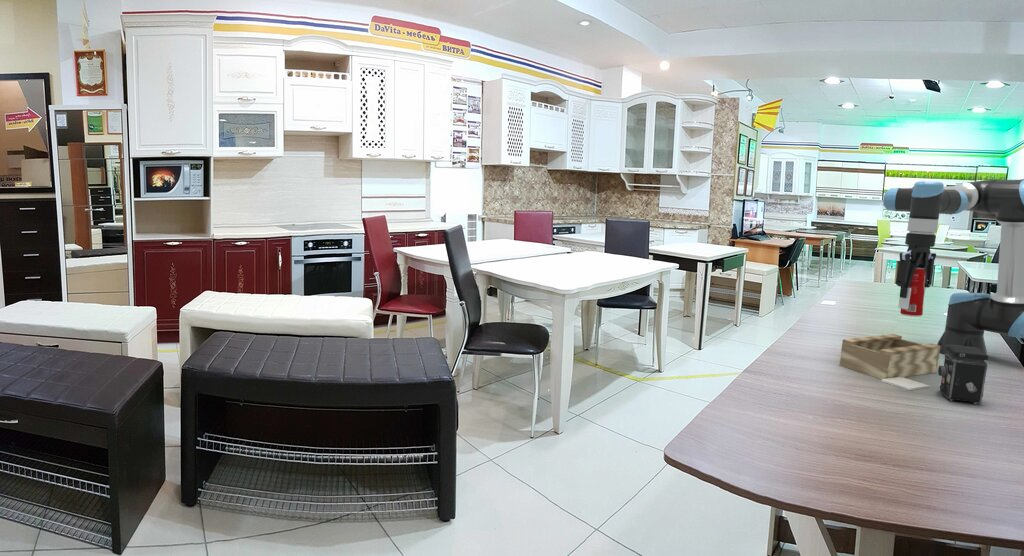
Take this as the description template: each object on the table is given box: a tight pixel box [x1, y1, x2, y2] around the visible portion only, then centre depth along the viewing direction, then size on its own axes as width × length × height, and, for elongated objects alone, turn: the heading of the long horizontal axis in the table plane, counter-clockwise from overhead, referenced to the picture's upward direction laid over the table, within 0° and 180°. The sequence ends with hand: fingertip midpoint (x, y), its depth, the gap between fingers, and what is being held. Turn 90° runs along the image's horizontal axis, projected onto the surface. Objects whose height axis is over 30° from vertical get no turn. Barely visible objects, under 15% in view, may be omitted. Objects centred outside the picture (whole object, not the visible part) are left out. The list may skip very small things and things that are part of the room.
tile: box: [880, 377, 930, 391], centre depth 187 cm, size 9×9×1 cm
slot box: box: [839, 333, 941, 380], centre depth 202 cm, size 26×16×9 cm, turn 114°
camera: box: [937, 345, 989, 405], centre depth 175 cm, size 10×10×15 cm
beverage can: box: [900, 267, 926, 318], centre depth 186 cm, size 6×6×15 cm
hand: (910, 307), depth 186 cm, fingers closed on beverage can, 6 cm apart
